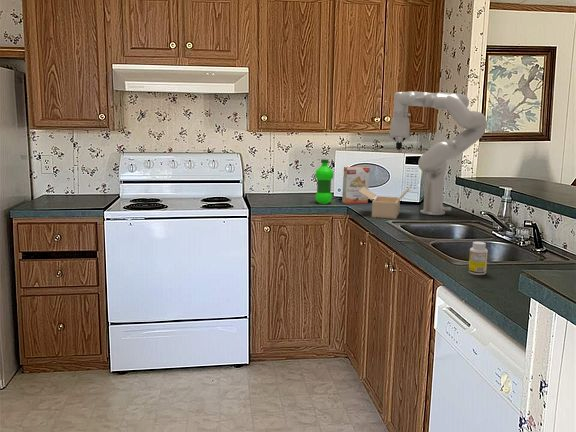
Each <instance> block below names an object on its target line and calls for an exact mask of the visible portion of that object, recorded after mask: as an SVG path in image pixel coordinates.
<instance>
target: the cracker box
mask: <svg viewBox="0 0 576 432" xmlns="http://www.w3.org/2000/svg"><path fill="white" fill-rule="evenodd" d="M370 169H371V168H370V167H367V166H343V173H342V174H343V175H342V176H343V178H342V179H343V180H342V197H341V198H342V200H341V202H342V203H343V204H347V205H348V204H349V205H351V204H352V205H353V204H354V205H355V204H356V205H357V204H360V205H361V204H363V205H364V204H366V205H367V204H368V202H369V198H367V197H365V196H364V195H362V194H361V193H359V192H358V191H359V190H361V189H362V188H363V187H365V188H366V189H368V190H369V189H370V187H369V185H370Z"/></svg>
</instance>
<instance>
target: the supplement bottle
mask: <svg viewBox="0 0 576 432" xmlns="http://www.w3.org/2000/svg"><path fill="white" fill-rule="evenodd" d="M486 246H487V245H486V242H483V241H472V247H470V248H469V256H468V257H469V259H468V274H471V275H475V276H483V275H485V274H486V273H487V268H488V267H487V266H488V256H489V255H488V253H489V251H488V248H486Z"/></svg>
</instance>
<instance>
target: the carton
mask: <svg viewBox="0 0 576 432" xmlns="http://www.w3.org/2000/svg"><path fill="white" fill-rule="evenodd" d="M399 197H400V196H399ZM399 197H395V196H378V195H376V196H375V197H374V198H373V200H371V201H372V202H371V205H372V207H371V218H376V217H377V218H379V219H395V220H396V219H397V218H398V216H399V214H400V201H401V199H400V200H399V201H398V199H399Z"/></svg>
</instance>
